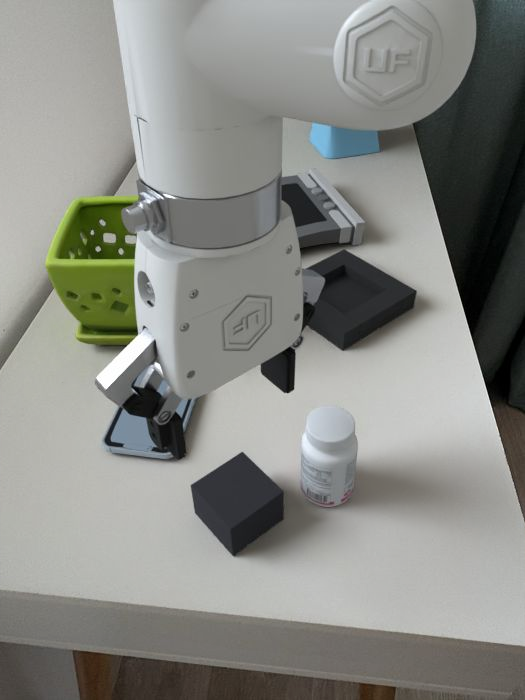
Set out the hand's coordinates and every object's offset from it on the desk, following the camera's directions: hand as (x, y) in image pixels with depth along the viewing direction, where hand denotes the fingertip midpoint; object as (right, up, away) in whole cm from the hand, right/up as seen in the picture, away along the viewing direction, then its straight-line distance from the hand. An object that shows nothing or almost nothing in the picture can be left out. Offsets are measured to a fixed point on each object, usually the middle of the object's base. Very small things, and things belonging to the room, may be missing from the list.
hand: (226, 412), depth 45 cm
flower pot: (-12, +8, +29) cm, 33 cm away
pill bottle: (+8, -8, +11) cm, 16 cm away
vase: (+17, +40, +65) cm, 78 cm away
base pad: (+12, +10, +31) cm, 35 cm away
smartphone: (-8, -1, +19) cm, 21 cm away
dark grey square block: (+1, -10, +9) cm, 13 cm away
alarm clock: (+6, +22, +45) cm, 51 cm away
